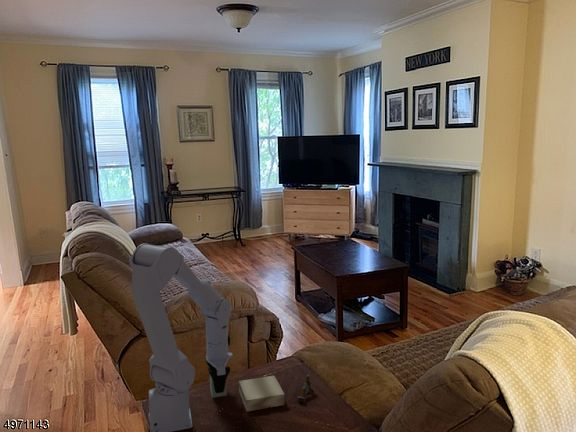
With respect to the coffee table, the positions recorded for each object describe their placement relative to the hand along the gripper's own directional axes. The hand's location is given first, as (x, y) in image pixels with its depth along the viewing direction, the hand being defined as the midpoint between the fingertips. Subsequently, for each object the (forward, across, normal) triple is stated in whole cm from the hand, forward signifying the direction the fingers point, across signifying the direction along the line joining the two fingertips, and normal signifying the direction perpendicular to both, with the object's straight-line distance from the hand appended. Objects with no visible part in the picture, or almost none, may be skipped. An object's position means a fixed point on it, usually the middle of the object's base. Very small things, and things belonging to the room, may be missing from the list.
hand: (218, 387), depth 116 cm
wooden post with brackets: (+2, -8, -22) cm, 23 cm away
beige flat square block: (+1, -6, -10) cm, 12 cm away
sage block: (+1, 0, 0) cm, 1 cm away
